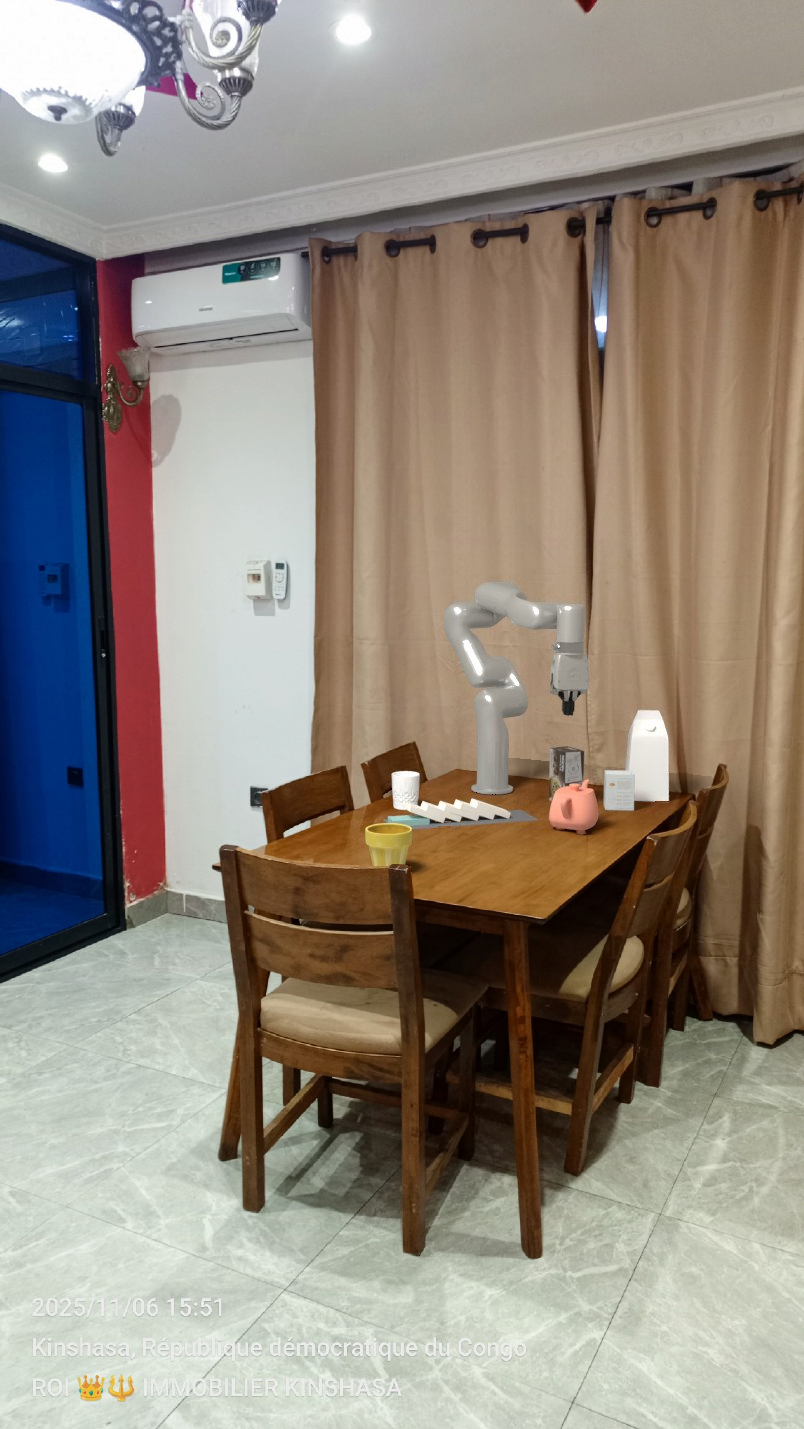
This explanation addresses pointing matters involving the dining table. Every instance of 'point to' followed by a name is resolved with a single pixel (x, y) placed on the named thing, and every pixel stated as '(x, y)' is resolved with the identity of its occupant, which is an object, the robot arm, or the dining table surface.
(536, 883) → the dining table surface
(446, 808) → the domino
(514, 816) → the mat
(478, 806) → the domino
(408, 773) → the white cup
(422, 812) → the domino
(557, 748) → the coffee box
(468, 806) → the domino
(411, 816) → the domino
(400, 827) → the plant pot
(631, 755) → the milk
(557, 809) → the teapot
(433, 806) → the domino
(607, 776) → the small box
